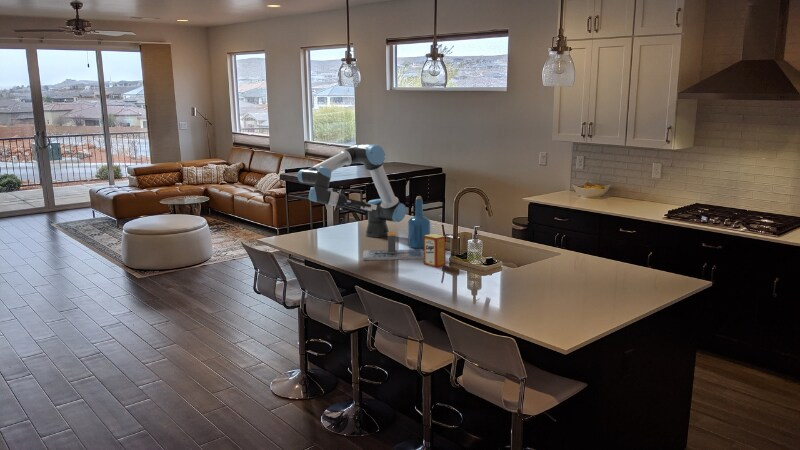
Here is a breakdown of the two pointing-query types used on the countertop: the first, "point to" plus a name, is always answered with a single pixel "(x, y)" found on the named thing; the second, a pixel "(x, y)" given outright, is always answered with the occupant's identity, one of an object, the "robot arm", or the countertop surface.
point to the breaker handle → (391, 243)
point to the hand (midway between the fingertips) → (374, 208)
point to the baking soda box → (434, 250)
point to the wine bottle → (418, 226)
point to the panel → (391, 254)
